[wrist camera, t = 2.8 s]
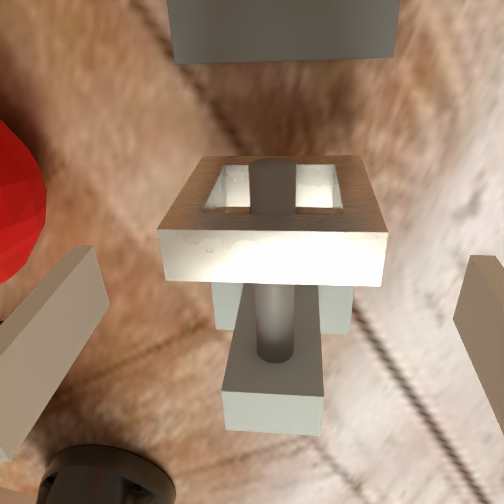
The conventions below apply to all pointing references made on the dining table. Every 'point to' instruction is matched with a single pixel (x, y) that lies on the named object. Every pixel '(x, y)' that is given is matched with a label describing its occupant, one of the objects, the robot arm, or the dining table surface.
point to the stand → (277, 330)
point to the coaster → (281, 30)
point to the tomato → (18, 203)
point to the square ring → (276, 227)
